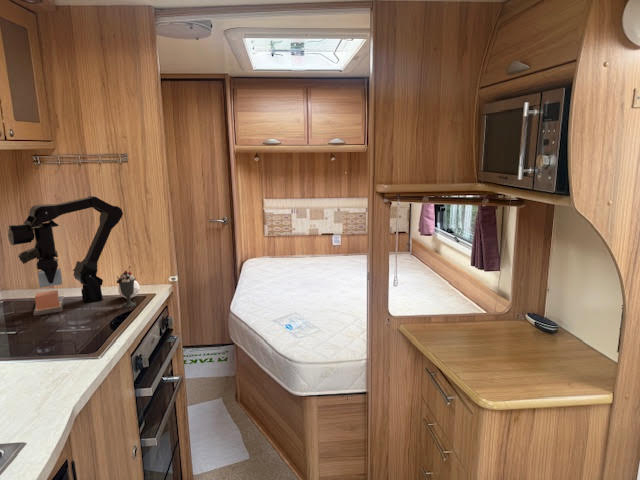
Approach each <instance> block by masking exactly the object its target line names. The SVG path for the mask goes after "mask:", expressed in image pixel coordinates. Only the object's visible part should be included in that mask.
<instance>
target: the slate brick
mask: <svg viewBox="0 0 640 480" xmlns="http://www.w3.org/2000/svg"><path fill="white" fill-rule="evenodd" d="M37 277H38V284H39V288H46V287H47V288H48V287H52V286H53V287H54V286H60V285H63V276H62V270H61V268H60V267H58V268H57V270H56V274H55V277H54V280H53V283H51V284H50V283H49V282H48V279H47V277H46V275H45V273H44V271H42V270H38V272H37Z"/></svg>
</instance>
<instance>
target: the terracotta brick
mask: <svg viewBox="0 0 640 480" xmlns="http://www.w3.org/2000/svg"><path fill="white" fill-rule="evenodd" d="M59 297H60V295H59V290H58V289H55V290H48V291H41V292H35V295H34V300H35V306H36V307H37V310H39V309H45V308H51V307H58V306H59V304H60V301H59Z"/></svg>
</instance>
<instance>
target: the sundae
mask: <svg viewBox="0 0 640 480" xmlns="http://www.w3.org/2000/svg"><path fill="white" fill-rule="evenodd" d="M130 269H131V266H130V265H129V266H128V268H127V270H125V271H124V272H123V273H121V275H120V277H119V276H116V278H117V280H116V284H118V286H119V285H120V289H121V292H122V294H123V295H124V296H125V297H127V298H126V303H124V304H122V305H121V306H122V308H127V309H129V308H133V307H135V306H136V305H137V303H136V302H132V301H131V298H130V296H131V295H132V294H133V292H134V281H137V280H136V279H137V278H135V277H134V275H133V274H132V272H131V271H130Z"/></svg>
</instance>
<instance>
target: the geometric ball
mask: <svg viewBox="0 0 640 480" xmlns="http://www.w3.org/2000/svg"><path fill="white" fill-rule="evenodd" d="M117 289H118V294H119V295H120V296H121V297H122V298H124V299H127V297H125V296H124V295H123V294H122V292H121V289H120V285H119V284H118V288H117ZM139 292H140V284H139V283H138V281H137V280H135V281H134V292H133V294H132V295H131V296H130V299H133V298H135V297H136V296H137V295H138V294H139Z"/></svg>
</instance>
